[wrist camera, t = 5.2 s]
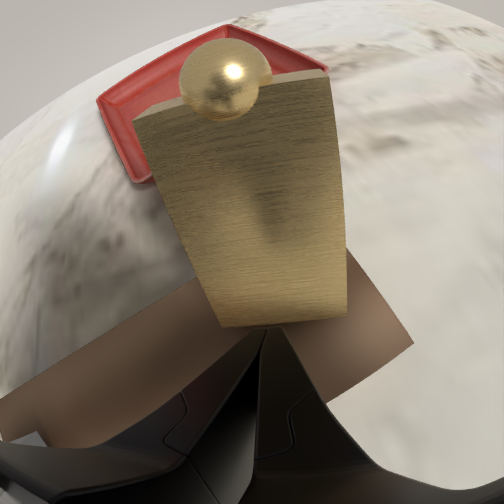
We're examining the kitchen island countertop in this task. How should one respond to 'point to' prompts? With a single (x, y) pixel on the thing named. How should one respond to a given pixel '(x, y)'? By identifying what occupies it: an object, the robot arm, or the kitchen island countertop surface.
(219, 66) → the brass lever
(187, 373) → the walnut panel
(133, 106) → the plant saucer
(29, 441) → the slate lever
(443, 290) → the kitchen island countertop surface
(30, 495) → the robot arm
